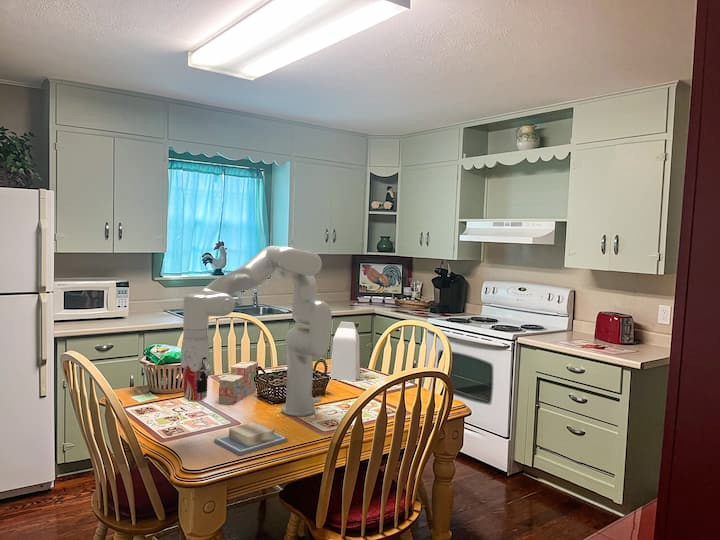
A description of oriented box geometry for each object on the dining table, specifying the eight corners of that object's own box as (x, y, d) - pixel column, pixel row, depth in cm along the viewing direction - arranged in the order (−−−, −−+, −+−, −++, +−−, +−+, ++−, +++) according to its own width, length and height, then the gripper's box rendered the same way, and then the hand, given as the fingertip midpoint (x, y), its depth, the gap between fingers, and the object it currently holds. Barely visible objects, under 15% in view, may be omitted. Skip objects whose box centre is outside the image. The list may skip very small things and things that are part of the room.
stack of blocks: (232, 405, 213) (233, 373, 213) (218, 403, 215) (218, 371, 214) (257, 390, 234) (258, 361, 233) (243, 388, 236) (244, 360, 235)
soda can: (186, 395, 180) (186, 359, 179) (208, 395, 180) (209, 359, 180) (181, 402, 173) (181, 364, 172) (204, 402, 173) (205, 364, 172)
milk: (329, 379, 256) (331, 323, 254) (334, 373, 267) (337, 319, 266) (355, 381, 254) (357, 325, 252) (359, 375, 265) (362, 321, 264)
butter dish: (261, 429, 189) (261, 417, 189) (287, 441, 179) (288, 429, 179) (214, 441, 176) (214, 429, 176) (239, 455, 166) (240, 442, 166)
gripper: (171, 330, 178) (170, 385, 180) (199, 339, 166) (199, 398, 168) (192, 328, 184) (192, 381, 185) (221, 336, 172) (221, 393, 173)
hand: (195, 388), depth 176 cm, fingers closed on soda can, 7 cm apart
